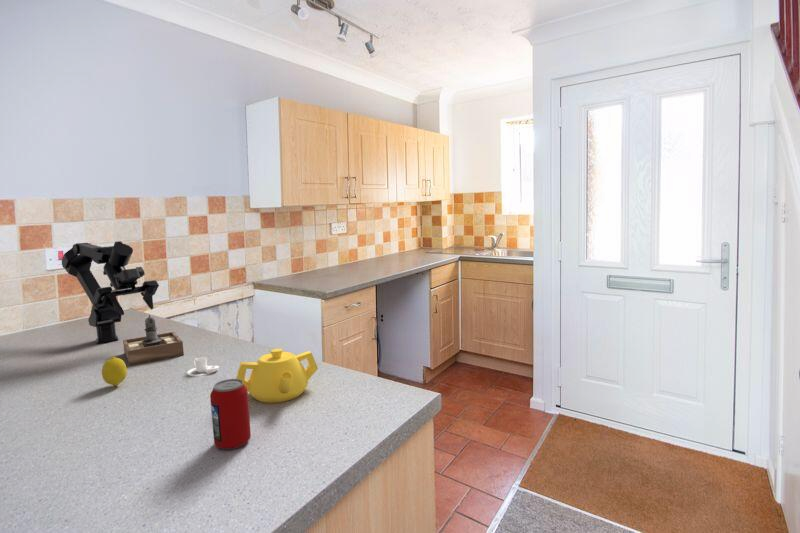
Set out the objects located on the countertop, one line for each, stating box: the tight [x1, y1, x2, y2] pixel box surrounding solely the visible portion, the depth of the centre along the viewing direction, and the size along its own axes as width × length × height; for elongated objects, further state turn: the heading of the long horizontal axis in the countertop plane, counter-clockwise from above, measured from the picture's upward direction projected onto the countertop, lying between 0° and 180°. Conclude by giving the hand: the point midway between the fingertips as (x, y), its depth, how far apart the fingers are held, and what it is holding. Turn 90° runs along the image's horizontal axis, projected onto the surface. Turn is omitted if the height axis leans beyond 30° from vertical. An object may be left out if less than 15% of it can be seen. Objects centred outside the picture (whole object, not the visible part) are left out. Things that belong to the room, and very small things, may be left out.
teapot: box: [235, 348, 319, 404], centre depth 109 cm, size 20×18×11 cm
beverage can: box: [209, 378, 252, 450], centre depth 87 cm, size 7×7×12 cm
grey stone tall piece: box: [142, 314, 162, 347], centre depth 144 cm, size 6×6×12 cm
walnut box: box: [122, 331, 184, 367], centre depth 145 cm, size 15×15×4 cm
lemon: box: [101, 356, 128, 387], centre depth 118 cm, size 6×6×8 cm
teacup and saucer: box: [186, 356, 220, 377], centre depth 128 cm, size 9×8×4 cm
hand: (138, 311), depth 147 cm, fingers open, 9 cm apart
